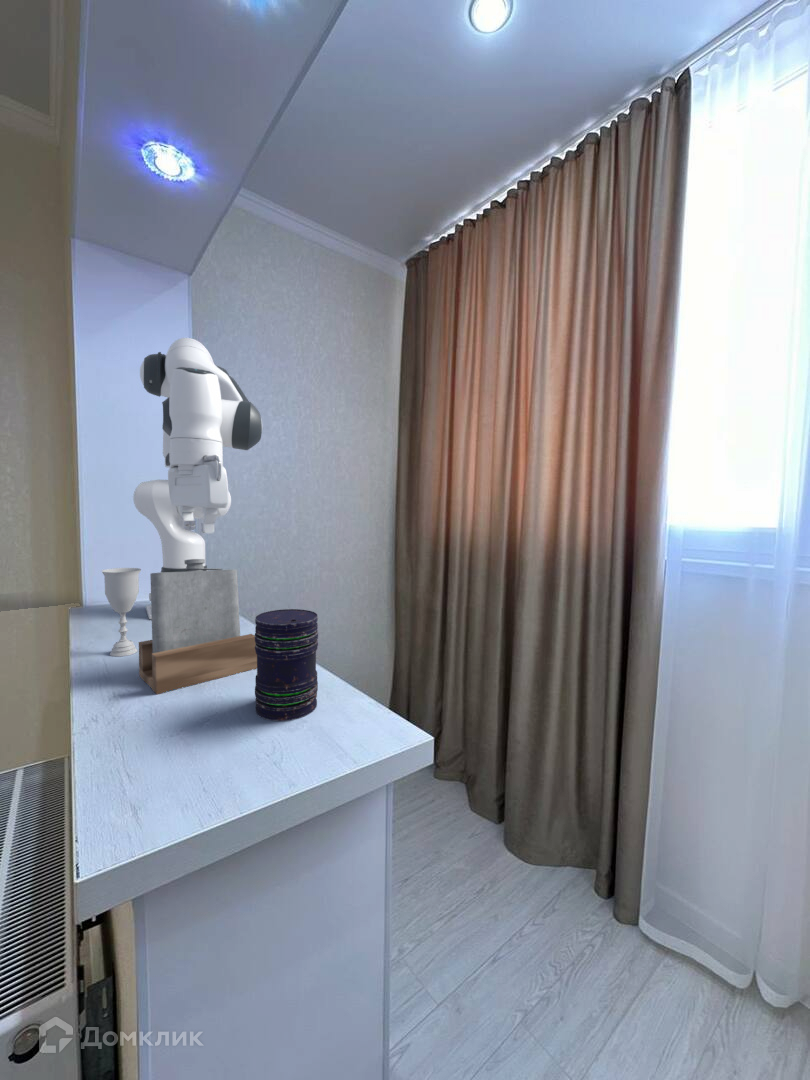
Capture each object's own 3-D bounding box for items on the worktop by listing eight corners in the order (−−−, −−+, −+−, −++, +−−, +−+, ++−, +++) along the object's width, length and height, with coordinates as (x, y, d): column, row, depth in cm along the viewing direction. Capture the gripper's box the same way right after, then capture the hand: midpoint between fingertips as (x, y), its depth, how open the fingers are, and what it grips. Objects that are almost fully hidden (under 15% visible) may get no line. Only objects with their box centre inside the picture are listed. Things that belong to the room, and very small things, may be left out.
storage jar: (246, 702, 71) (246, 613, 70) (303, 688, 77) (303, 606, 76) (267, 728, 63) (267, 628, 62) (328, 710, 69) (329, 619, 68)
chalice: (150, 648, 97) (148, 568, 95) (128, 658, 90) (125, 573, 89) (119, 646, 97) (117, 567, 96) (95, 656, 91) (92, 571, 89)
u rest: (139, 675, 81) (138, 642, 81) (234, 654, 94) (233, 625, 93) (156, 694, 74) (155, 657, 73) (257, 668, 86) (257, 636, 86)
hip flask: (155, 671, 77) (152, 559, 79) (149, 669, 80) (146, 561, 81) (243, 655, 88) (238, 557, 90) (235, 654, 91) (231, 558, 93)
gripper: (237, 455, 76) (238, 534, 77) (195, 461, 90) (196, 527, 91) (200, 452, 71) (201, 535, 72) (161, 458, 85) (163, 528, 87)
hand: (198, 531), depth 82 cm, fingers open, 8 cm apart
